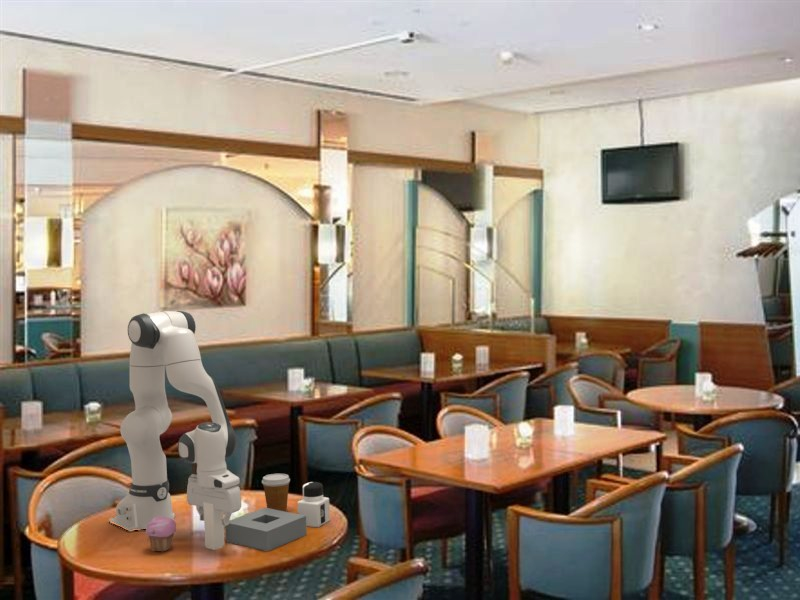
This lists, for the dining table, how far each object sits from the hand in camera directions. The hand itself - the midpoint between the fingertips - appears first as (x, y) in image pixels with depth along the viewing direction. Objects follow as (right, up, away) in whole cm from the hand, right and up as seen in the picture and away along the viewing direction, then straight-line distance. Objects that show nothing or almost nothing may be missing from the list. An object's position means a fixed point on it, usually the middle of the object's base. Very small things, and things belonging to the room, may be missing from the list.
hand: (214, 522), depth 273 cm
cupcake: (-16, -8, -1) cm, 18 cm away
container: (+28, -6, +21) cm, 35 cm away
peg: (0, -8, +1) cm, 8 cm away
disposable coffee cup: (+14, -5, +34) cm, 38 cm away
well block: (+15, -7, +7) cm, 18 cm away
